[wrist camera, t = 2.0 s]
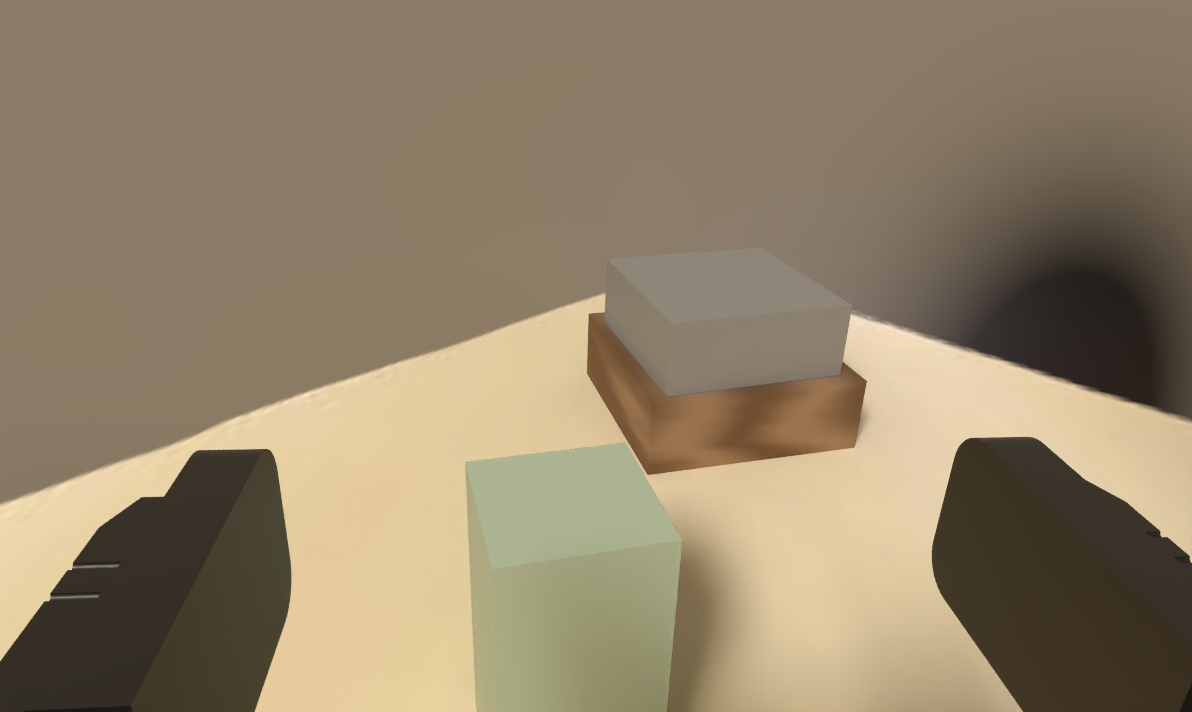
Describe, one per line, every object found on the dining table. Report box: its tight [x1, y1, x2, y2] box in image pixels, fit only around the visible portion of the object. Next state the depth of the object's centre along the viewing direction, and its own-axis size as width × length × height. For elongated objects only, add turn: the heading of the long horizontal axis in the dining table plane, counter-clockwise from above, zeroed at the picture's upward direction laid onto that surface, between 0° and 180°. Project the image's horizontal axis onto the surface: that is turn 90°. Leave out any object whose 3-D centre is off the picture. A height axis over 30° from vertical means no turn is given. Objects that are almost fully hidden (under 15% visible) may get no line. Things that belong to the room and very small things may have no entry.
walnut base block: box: [587, 313, 867, 475], centre depth 48 cm, size 12×12×4 cm
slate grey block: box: [605, 248, 852, 397], centre depth 46 cm, size 10×10×4 cm
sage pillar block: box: [465, 443, 682, 712], centre depth 25 cm, size 5×5×10 cm
